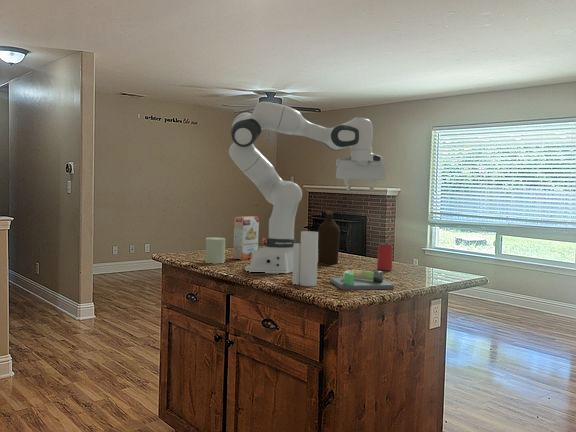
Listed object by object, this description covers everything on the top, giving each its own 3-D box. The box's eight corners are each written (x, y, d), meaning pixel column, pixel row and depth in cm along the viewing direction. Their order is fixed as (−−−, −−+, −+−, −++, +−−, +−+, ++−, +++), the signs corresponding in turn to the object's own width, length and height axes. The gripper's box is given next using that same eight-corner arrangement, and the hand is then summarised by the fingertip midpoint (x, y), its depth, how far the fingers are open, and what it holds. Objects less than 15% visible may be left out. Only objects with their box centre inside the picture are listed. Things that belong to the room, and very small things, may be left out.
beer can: (391, 271, 241) (392, 244, 240) (376, 270, 242) (377, 243, 242) (392, 269, 248) (393, 243, 247) (377, 268, 249) (378, 242, 248)
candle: (320, 284, 205) (321, 232, 204) (308, 287, 200) (310, 233, 198) (297, 280, 212) (298, 229, 211) (285, 282, 207) (286, 230, 206)
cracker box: (242, 260, 261) (243, 217, 260) (232, 259, 264) (233, 216, 263) (258, 257, 273) (259, 216, 272) (248, 256, 276) (249, 215, 275)
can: (201, 262, 252) (201, 237, 251) (215, 260, 259) (216, 235, 258) (214, 265, 246) (214, 238, 245) (229, 263, 253) (229, 237, 252)
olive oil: (334, 265, 253) (335, 212, 252) (313, 263, 258) (315, 211, 257) (342, 262, 263) (343, 211, 261) (322, 260, 268) (323, 210, 266)
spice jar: (384, 281, 206) (384, 271, 206) (380, 282, 203) (380, 272, 203) (354, 277, 213) (354, 267, 213) (350, 278, 210) (350, 268, 210)
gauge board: (342, 289, 197) (342, 274, 196) (330, 281, 212) (330, 267, 212) (393, 289, 200) (394, 274, 200) (378, 281, 216) (379, 267, 216)
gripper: (336, 156, 220) (335, 190, 221) (387, 157, 220) (385, 191, 221) (335, 156, 226) (334, 190, 227) (384, 158, 226) (382, 191, 227)
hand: (360, 190), depth 224 cm, fingers open, 8 cm apart
